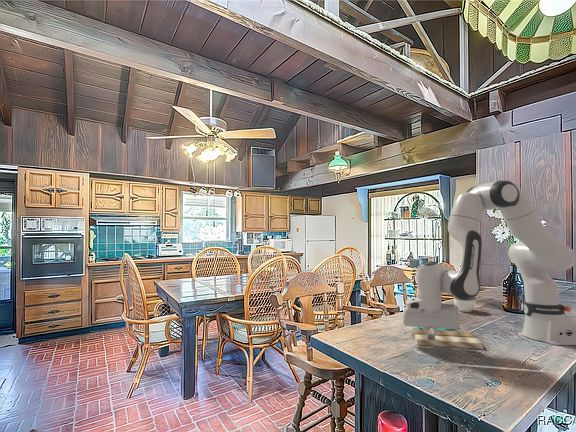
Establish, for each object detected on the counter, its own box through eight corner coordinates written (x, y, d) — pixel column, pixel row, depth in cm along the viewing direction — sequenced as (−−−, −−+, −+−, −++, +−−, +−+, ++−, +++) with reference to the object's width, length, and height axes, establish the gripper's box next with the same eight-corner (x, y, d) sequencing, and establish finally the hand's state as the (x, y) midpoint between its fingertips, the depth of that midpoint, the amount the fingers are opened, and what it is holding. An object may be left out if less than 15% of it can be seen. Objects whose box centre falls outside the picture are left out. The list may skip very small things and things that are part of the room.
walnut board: (471, 337, 129) (471, 332, 129) (477, 342, 123) (476, 337, 123) (412, 333, 135) (412, 328, 135) (414, 338, 129) (414, 333, 129)
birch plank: (477, 343, 122) (477, 337, 122) (482, 348, 117) (482, 343, 117) (414, 339, 128) (414, 334, 128) (416, 344, 122) (416, 339, 123)
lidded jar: (469, 314, 163) (468, 296, 163) (449, 310, 172) (449, 292, 173) (480, 311, 168) (479, 293, 169) (461, 307, 178) (460, 290, 178)
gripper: (456, 302, 124) (457, 337, 123) (401, 300, 129) (402, 334, 128) (460, 306, 118) (462, 343, 117) (403, 303, 123) (404, 339, 122)
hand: (430, 338), depth 123 cm, fingers closed, pressing on birch plank
